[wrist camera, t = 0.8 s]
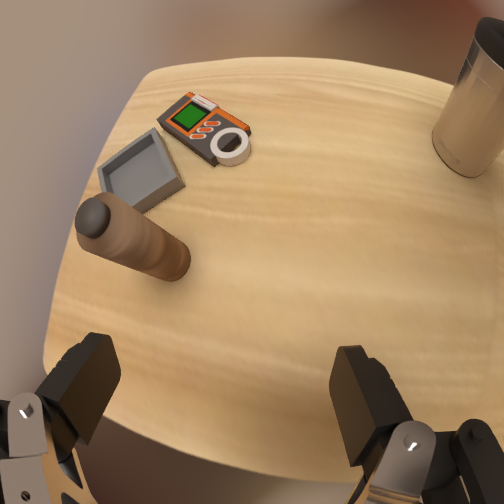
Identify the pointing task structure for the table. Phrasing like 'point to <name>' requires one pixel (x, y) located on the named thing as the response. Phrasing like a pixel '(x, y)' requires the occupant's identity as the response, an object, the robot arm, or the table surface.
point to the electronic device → (207, 130)
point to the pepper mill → (129, 238)
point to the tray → (141, 173)
